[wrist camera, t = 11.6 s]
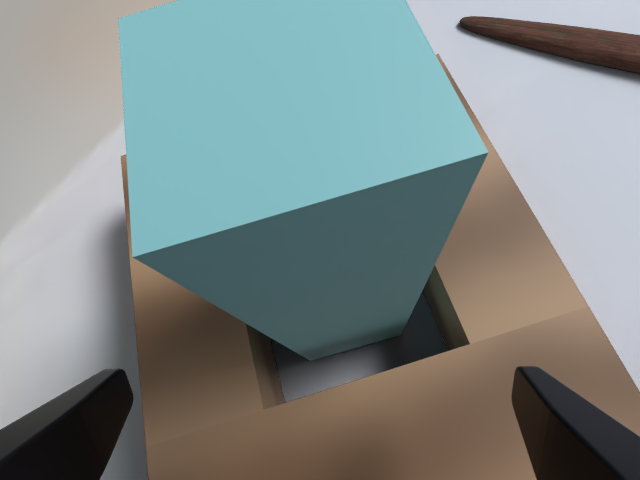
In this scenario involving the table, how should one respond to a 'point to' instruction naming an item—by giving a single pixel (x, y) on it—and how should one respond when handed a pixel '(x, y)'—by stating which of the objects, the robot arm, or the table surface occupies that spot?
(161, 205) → the teal peg
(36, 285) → the table surface
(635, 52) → the spoon
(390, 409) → the walnut socket block
